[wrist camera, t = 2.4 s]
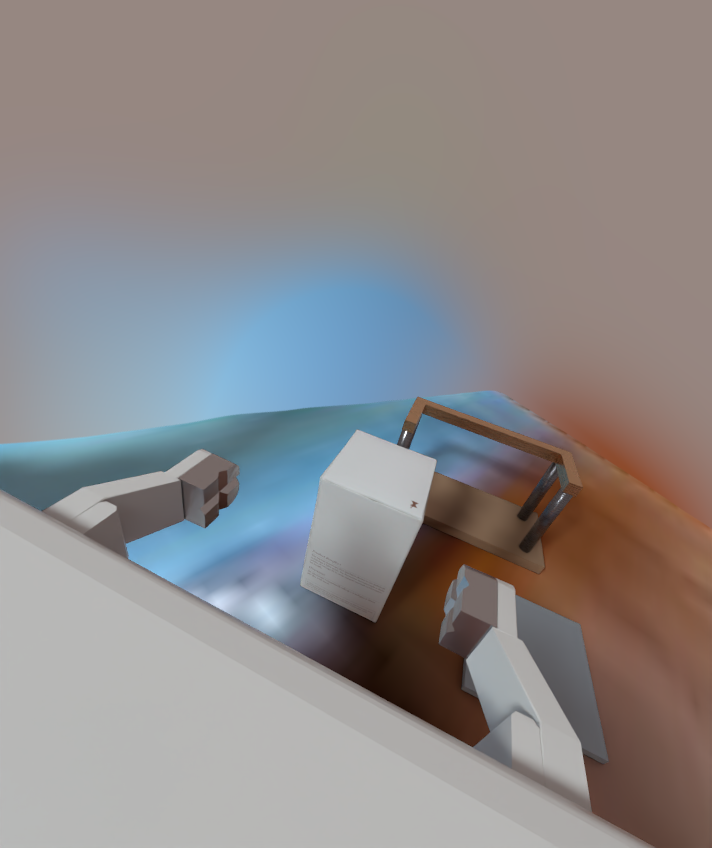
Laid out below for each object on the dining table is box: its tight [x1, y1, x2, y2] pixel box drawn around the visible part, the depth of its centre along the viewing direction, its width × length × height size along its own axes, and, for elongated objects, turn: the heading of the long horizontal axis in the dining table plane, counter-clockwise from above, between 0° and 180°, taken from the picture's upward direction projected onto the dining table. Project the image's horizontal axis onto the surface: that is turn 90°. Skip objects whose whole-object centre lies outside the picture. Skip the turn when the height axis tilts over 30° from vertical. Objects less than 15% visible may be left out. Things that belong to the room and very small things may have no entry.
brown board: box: [423, 472, 545, 574], centre depth 41 cm, size 20×8×1 cm, turn 69°
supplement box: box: [300, 430, 437, 622], centre depth 28 cm, size 7×7×13 cm
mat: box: [461, 595, 609, 764], centre depth 28 cm, size 10×10×1 cm
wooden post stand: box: [397, 397, 583, 553], centre depth 38 cm, size 17×6×10 cm, turn 69°
